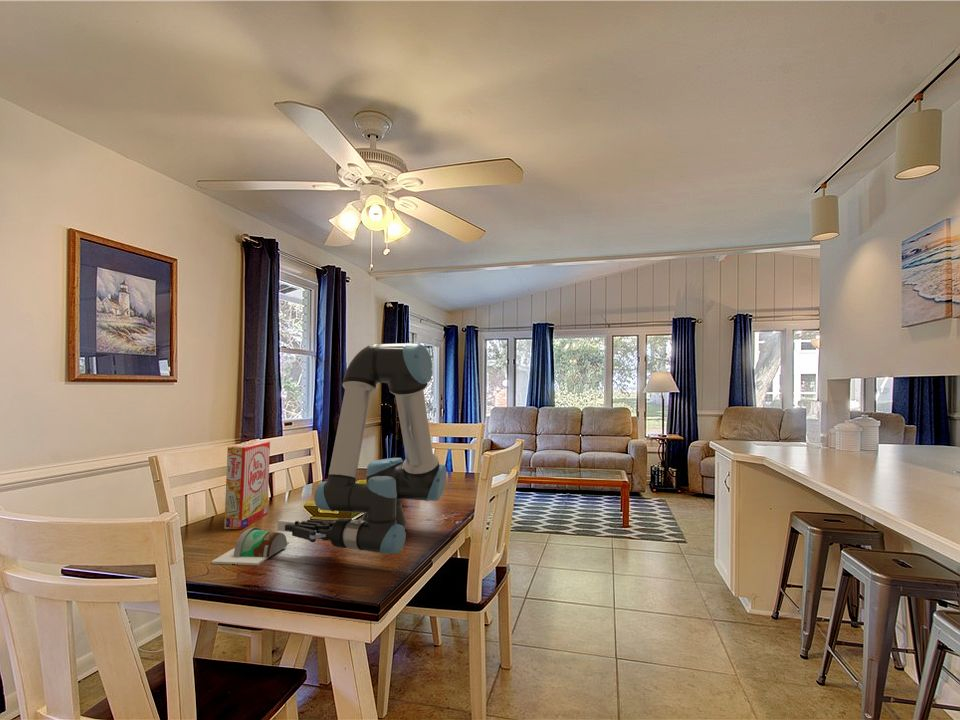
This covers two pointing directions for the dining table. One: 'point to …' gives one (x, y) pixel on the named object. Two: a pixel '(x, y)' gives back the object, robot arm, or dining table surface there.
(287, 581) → the dining table surface
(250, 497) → the board game box
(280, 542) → the food container
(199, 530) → the dining table surface
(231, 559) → the mat
